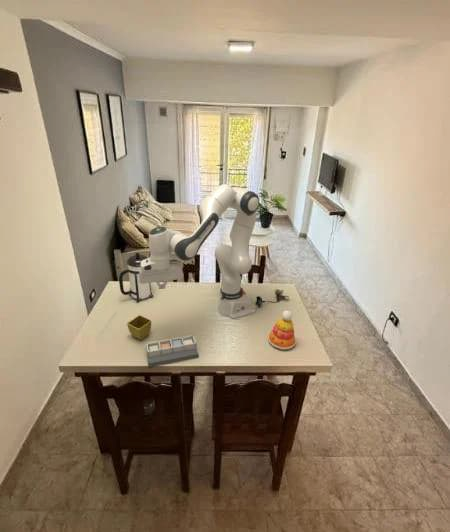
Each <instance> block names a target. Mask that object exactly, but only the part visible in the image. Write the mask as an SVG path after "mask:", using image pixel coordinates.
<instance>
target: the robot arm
mask: <svg viewBox="0 0 450 532" xmlns="http://www.w3.org/2000/svg"><path fill="white" fill-rule="evenodd" d="M259 206H260V197H259V196H258V194H257V193H255V192H254V191H251V190H249V189H247V188H244V187H239V186H235V185H229V184H228V183H227V184H226V183H223V184H221V185H219V186H217V187H216V188H214V189H213V190H212V191H211V192H210V193H208V195H206V196H205V197H204V198H203V199H202V201H201V202H200V203H199V214H200V216H201V217H202V221H201V223H200V224H199V226H198V227H197V228H196V229H195V231H194V232H193V233H192V234H191V235H189V236H188V235H186V234H185V233H183V232H182V231H179V230H176V229H174V230H172V229H168V228H167V227H165V226H156V227H153V228H152V229H150V231H149V235H148V248H149V251H150V255H149V257H148V258H147V259H145V260H142V261H141V267H140V269H139V282H140V283H141V284H144V283H151V284H153V283H156V285H157V286H158V289H159V290H162V289H166V286H167V284H168V282H169V281H175V280H176V281H177V280H182V279H183V278H184V271H183V268H184V263H183V261H186V262H187V261H190V260H192V259H194V258H195V257H196V255H197V254H198V252H199V250H200V248H201V247H202V246H203V244H204V243H205V241H206V240H207V239H208V237H209V236H210V235H211V233H213V231H214V230H215V228H216V227H217V226H218V223H219V221H220V218H221V216H222V215H223V214H224V213H225V212H226V211H227V209H229V208H231V209H234V210H235V211H236V215H235V217H234V220H233V224H232V227H231V230H230V232H229V239H230V242H231V245H229V244H224V243H223V244H219V245H218V246H217V247H216V248H215V249H214V253H213V254H214V257H215V259H216V261H217V263H218V268H219V271H220V272H219V273H220V276H221V278H220V279H221V280H220V281H221V282H220V283H221V285H220V286H221V287H220V290H219V303H218V306H217V311H218V313H219V314H220V315H223V316H225V317H229V318H231V319H238V318H241V317H245V316H248V315H250V314H255V313H256V305H254V303H253V302H252V300H251V298H250V297H249V295H247V292H246V290H244V289H243V287H241V285H242V284H241V283H242V277H241V275H246V274H247V273H248V272H250V271H251V269H252V264H253V263H252V259H251V257H250V240H251V239H252V238H251V237H252V234H253V231H254V227H255V224H256V221H257V216H258V208H259ZM171 254H174V255H176V256H177V258H178V260H171ZM179 259H180V260H179ZM161 282H163V283H162V284H160V283H161Z"/></svg>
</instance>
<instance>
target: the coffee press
mask: <svg viewBox="0 0 450 532" xmlns="http://www.w3.org/2000/svg"><path fill="white" fill-rule="evenodd" d="M147 258H149V257H148V256H147V255H144V254H140V252H136V253H135V254H133V255H130V256H128V258H127V260H126V264H127V269H124V270H123V271H121V273H120V274H119V276H118V282H119V290H120V293H121V294H122V295H124V296H129V297H132V298H134V299H136V304H137V303H138V304H139V303H140V301H141V300H142V299H143V300H144V299H147V298H149V297H150V298H151V299H153V297H154V294H153V293H152V283H144V284H141V283H140V282H139V269H140V267H141V261H142V260H145V259H147ZM126 274H128V279H129V287H130V288H129V290H128V291H125V290H124V282H123V277H124V276H125V275H126Z"/></svg>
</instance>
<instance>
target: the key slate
mask: <svg viewBox="0 0 450 532" xmlns="http://www.w3.org/2000/svg"><path fill="white" fill-rule="evenodd" d="M172 343H173V346H179V345H182V343H181V340H175V341H172Z"/></svg>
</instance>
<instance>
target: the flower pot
mask: <svg viewBox="0 0 450 532" xmlns="http://www.w3.org/2000/svg"><path fill="white" fill-rule="evenodd" d="M126 325H127V329H128V332H129V334H131V335H132V336H133V337H134V338H135V339H138V340H140V341H142V340H143V339H144V338H146V337H147V336H149V334H150V333H151V330H152V329H151V328H152V320H151V319H150V318H147V317H145V316H143V315H140V314H139V315H137V316H136V317H134V318H133V319H131V320H130V321H128V322H127V323H126Z"/></svg>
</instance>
